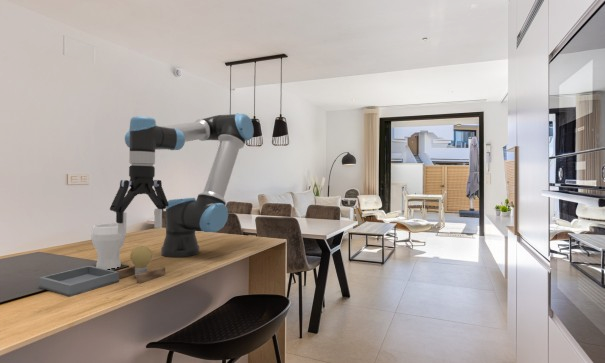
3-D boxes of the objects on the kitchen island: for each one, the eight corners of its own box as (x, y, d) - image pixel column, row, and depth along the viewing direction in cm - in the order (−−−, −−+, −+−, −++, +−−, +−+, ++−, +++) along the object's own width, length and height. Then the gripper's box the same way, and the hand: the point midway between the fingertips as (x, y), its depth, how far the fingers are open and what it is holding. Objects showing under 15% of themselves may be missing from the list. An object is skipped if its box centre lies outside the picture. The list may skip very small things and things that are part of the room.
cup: (83, 269, 118) (84, 225, 118) (111, 261, 128) (111, 222, 128) (105, 273, 114) (105, 228, 114) (132, 265, 124) (132, 224, 124)
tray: (89, 274, 112) (89, 265, 112) (118, 281, 106) (118, 272, 106) (39, 287, 99) (39, 277, 99) (69, 296, 93) (69, 285, 93)
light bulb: (143, 280, 108) (143, 249, 107) (125, 278, 109) (125, 247, 109) (156, 274, 114) (156, 244, 114) (139, 273, 115) (139, 243, 115)
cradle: (143, 270, 118) (143, 263, 118) (165, 275, 114) (165, 267, 114) (116, 278, 109) (116, 270, 109) (139, 283, 105) (139, 275, 105)
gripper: (164, 166, 123) (163, 225, 124) (97, 163, 101) (96, 235, 101) (179, 166, 120) (178, 226, 120) (114, 163, 97) (112, 237, 98)
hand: (141, 230), depth 111 cm, fingers open, 13 cm apart
